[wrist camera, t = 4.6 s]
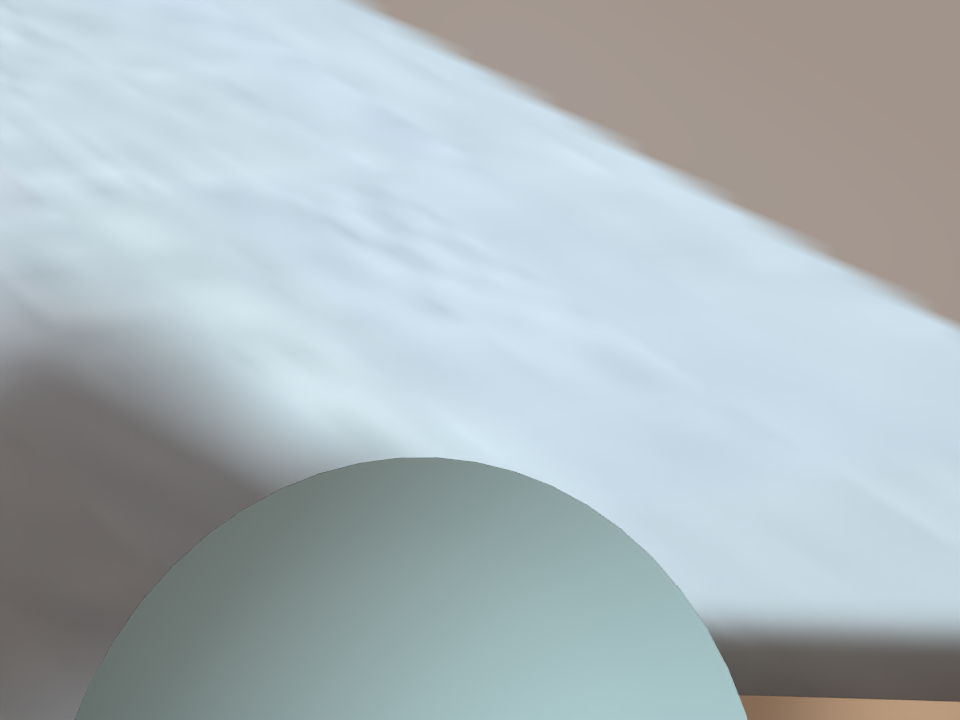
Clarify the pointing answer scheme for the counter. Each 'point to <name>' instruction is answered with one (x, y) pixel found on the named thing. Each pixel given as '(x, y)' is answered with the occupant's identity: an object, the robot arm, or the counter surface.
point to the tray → (846, 709)
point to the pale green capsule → (415, 611)
